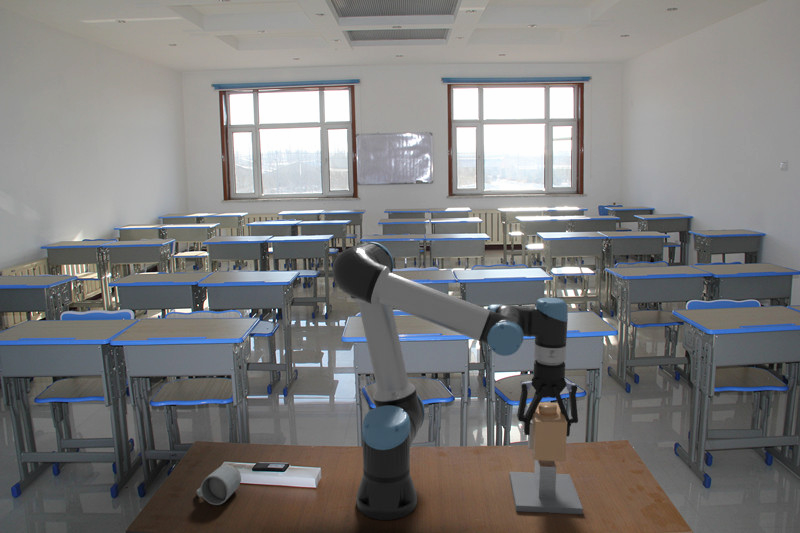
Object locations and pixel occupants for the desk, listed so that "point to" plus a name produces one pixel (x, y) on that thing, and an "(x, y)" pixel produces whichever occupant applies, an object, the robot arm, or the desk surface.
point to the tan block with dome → (549, 433)
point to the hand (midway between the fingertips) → (545, 446)
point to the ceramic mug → (220, 484)
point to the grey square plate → (545, 490)
